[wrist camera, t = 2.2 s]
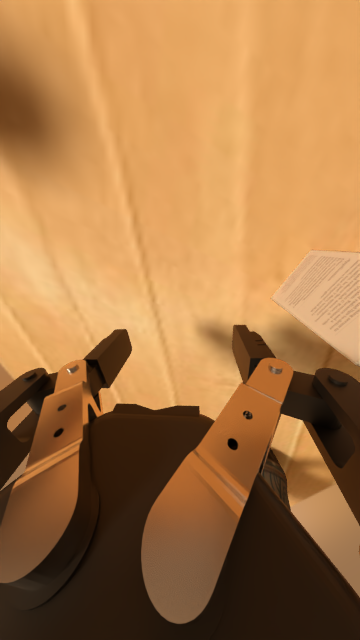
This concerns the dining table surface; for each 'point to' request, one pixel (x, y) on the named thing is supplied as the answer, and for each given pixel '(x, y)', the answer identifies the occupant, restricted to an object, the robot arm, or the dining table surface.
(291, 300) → the small box
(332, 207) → the dining table surface
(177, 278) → the dining table surface
